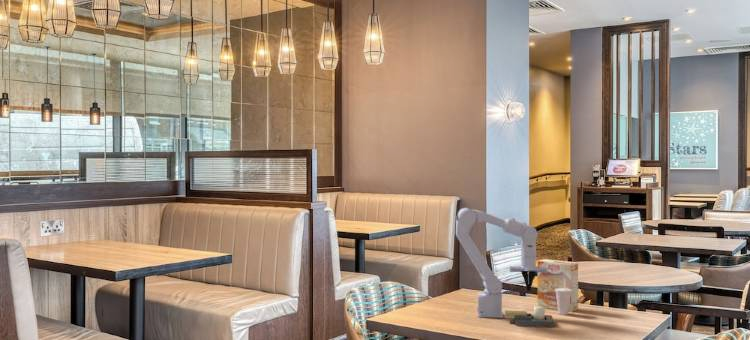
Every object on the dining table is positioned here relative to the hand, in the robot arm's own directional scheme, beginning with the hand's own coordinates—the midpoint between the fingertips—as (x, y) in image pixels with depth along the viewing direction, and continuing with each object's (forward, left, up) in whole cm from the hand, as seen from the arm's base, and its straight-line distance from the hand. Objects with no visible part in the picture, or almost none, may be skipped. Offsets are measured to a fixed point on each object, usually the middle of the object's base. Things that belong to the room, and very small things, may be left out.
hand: (528, 290), depth 256 cm
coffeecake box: (+13, +15, -10) cm, 22 cm away
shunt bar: (-6, -12, -8) cm, 15 cm away
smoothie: (+14, +5, -10) cm, 18 cm away
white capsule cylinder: (+3, -12, -10) cm, 16 cm away
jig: (+1, -12, -10) cm, 16 cm away
